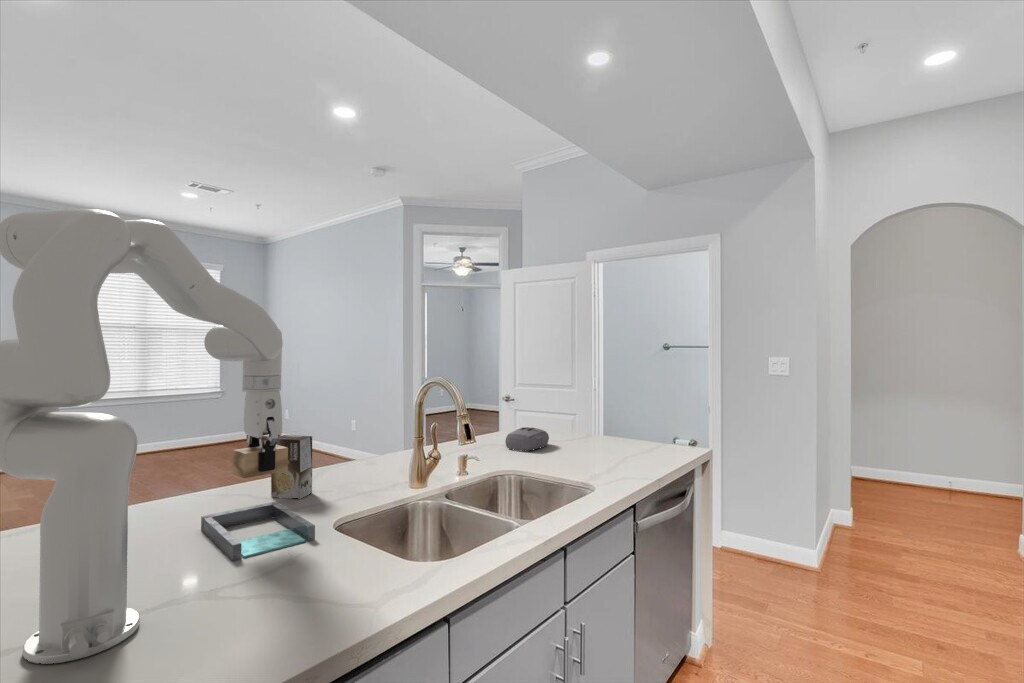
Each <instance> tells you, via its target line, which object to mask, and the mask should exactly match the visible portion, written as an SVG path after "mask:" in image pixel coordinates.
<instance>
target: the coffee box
mask: <svg viewBox="0 0 1024 683" xmlns="http://www.w3.org/2000/svg"><path fill="white" fill-rule="evenodd" d="M276 442H277V443H276V445H280V446H284V447H287V448H288V471H284V472H278V473H272V474H270V476H271V477H270V487H271V489H270V490H271V491H270V492H271V493H270V497H271V498H273V497H280V498H279V499H292V498H298V499H297V500H302V499H303V497H304V498H305V496H306V497H307V495H308V496H310V495H311V494H310V493H312V494H313V436H312V435H292V434H291V435H290V434H284V435H283V434H282V435H281V436H280V437H278V439H277V441H276ZM309 494H310V495H309ZM301 498H302V499H301Z"/></svg>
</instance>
